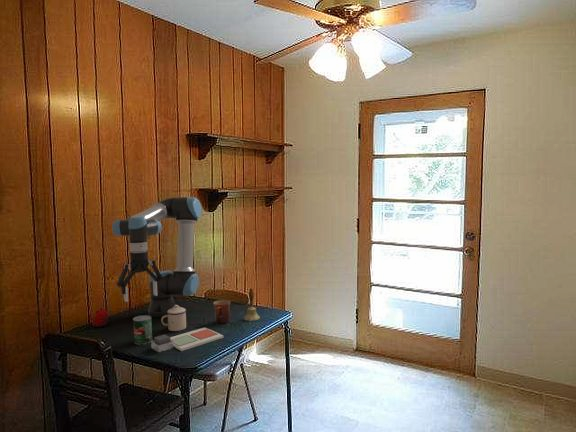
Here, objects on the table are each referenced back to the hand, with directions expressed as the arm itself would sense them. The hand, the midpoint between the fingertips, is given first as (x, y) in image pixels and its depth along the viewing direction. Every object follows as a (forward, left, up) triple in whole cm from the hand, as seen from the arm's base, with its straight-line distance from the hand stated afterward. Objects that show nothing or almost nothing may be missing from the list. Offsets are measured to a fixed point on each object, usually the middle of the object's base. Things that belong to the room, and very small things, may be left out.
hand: (141, 298), depth 187 cm
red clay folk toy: (-37, -6, -20) cm, 43 cm away
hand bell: (+11, +54, -20) cm, 59 cm away
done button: (+14, +3, -18) cm, 23 cm away
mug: (+5, +39, -20) cm, 44 cm away
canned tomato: (0, 0, -20) cm, 20 cm away
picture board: (+15, +17, -20) cm, 30 cm away
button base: (+14, +3, -20) cm, 25 cm away
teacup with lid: (-5, +18, -20) cm, 28 cm away
